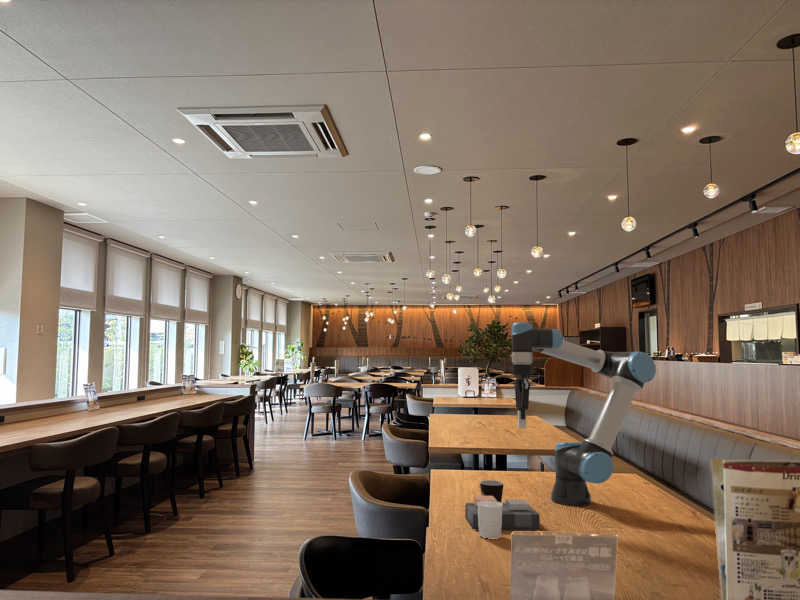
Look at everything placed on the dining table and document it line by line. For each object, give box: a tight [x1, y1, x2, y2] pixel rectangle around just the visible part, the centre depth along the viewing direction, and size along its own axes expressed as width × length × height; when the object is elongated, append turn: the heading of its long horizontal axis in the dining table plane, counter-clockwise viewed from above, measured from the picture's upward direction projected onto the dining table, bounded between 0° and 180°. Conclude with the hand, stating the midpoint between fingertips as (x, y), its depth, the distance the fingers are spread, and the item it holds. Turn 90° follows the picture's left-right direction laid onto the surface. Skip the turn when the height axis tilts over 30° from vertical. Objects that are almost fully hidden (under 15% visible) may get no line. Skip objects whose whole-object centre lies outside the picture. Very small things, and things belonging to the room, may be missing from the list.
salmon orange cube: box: [473, 495, 497, 506], centre depth 189 cm, size 6×6×6 cm
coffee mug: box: [479, 479, 504, 503], centre depth 207 cm, size 12×9×10 cm
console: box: [464, 502, 541, 531], centre depth 189 cm, size 22×14×5 cm, turn 94°
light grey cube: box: [505, 498, 530, 511], centre depth 190 cm, size 6×6×6 cm
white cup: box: [477, 501, 503, 539], centre depth 176 cm, size 8×8×10 cm
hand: (522, 428), depth 206 cm, fingers closed
